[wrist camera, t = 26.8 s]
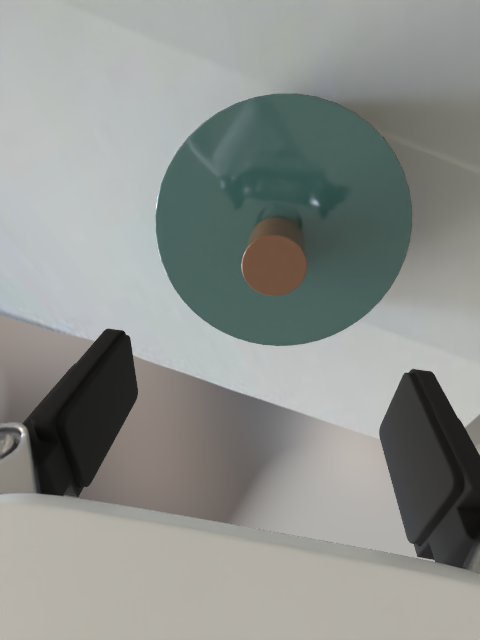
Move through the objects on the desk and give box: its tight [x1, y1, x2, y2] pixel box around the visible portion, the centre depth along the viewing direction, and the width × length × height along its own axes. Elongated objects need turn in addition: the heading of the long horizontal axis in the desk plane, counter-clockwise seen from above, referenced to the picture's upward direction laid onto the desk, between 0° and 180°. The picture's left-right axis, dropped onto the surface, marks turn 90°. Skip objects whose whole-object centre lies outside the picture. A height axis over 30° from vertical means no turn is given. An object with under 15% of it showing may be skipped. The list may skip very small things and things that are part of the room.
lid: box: [155, 94, 412, 346], centre depth 22 cm, size 18×18×5 cm
